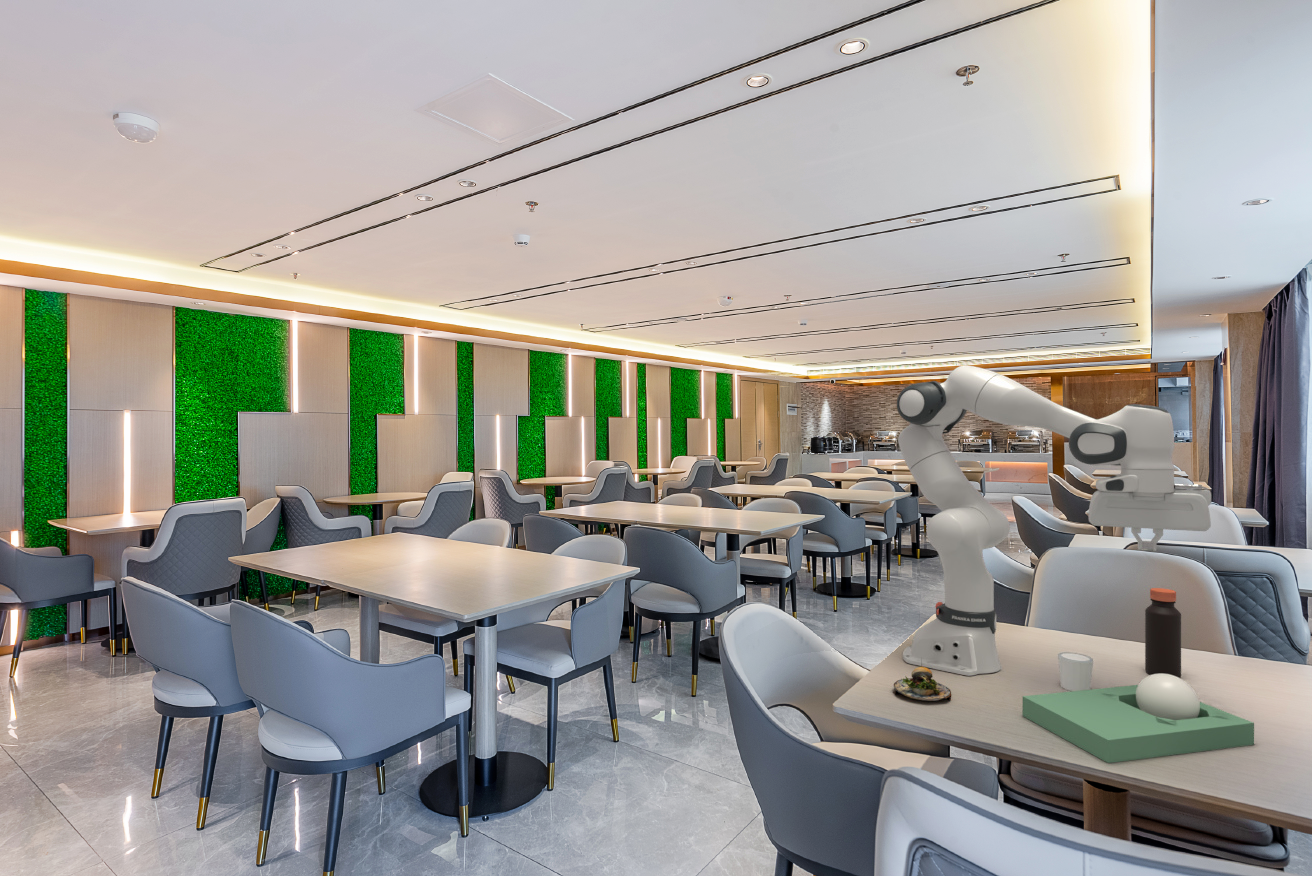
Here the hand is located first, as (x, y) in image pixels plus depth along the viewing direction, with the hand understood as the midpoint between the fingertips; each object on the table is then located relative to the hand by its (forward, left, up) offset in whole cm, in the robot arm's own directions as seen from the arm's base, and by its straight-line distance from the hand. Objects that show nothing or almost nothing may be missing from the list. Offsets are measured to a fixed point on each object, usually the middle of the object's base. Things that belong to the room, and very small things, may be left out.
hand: (1146, 550), depth 138 cm
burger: (-42, -12, -34) cm, 55 cm away
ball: (+2, -7, -28) cm, 29 cm away
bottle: (+7, +27, -33) cm, 43 cm away
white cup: (-12, +8, -33) cm, 36 cm away
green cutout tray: (-4, -12, -33) cm, 35 cm away
